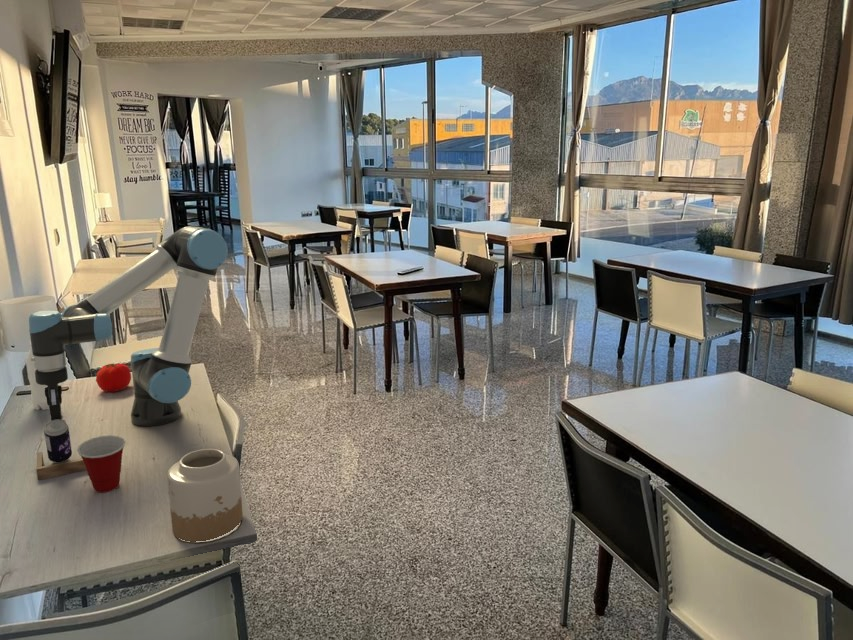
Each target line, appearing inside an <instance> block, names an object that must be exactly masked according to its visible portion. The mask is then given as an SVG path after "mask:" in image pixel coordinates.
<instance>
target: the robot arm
mask: <svg viewBox="0 0 853 640" xmlns="http://www.w3.org/2000/svg"><path fill="white" fill-rule="evenodd" d="M228 253H229V252H228V245H227V241H226V240H225V239H224V237H223V236H222V235H221V234H220V233H219V232H218V231H215V230H214V229H213V230H212V229H211V228H207V227H206V228H205V227H200V226H196V225H188V226H184V227H182V228H179V229H178V230H175V232H174V233H172V234H171V235H169V236H168V237H166V238H165V239H164V240H162V241H161V242H159V243H158V244H156V248H155V250H154V251H152V252H151V253H150V254H148V255H147V256H146V257H144V258H142V259H141V260H140V261H138V262H136V264H134V265H132V266H131V267H129V268H128V269H126V270H125V271H124V272H122V273H121V274H118V276H116V277H114V279H112V280H111V281H108V283H107V284H105V285H103V286H102V287H101V288H99V289H97V290H96V291H94V292H93V293H92V294H91V295H89V296H87V297H86V298H85V299H83V300H82V301H80V302H78V303H77V304H72V305H69V306H67V307H66V308H65V309H63V311H62V313H61V312H60V311H58V310H39V311H36V312H33V313H31V314H30V315H29V316H28V323H29V326H28V327H29V329H28V332H29V340H30V339H31V346H32V353H33V358H31V359H30V360H31V361H34V368H35V369H36V370H35V378H36V383H37V384H40V385H47V386H48V387H45V396H46V398H47V405H49V409H48V410H49V415H50V421H52V420H56V419H60V420H63V421H65V422H66V420H65V419H63V415H62V406H61V405H62V403H63V402H62V401H63V400H62V397H63V396H62V394H63V389H62V385H61V384H62V383H64V382H66V381H68V377H69V376H68V375H69V373H68V367H67V366H66V365H67V356H66V355H67V354H66V350H65V346H66V345H73V344H84V343H91V342H100V341H104V340H108V339H110V338H111V337H112V336H113V324H112V320H111V317H110V314H111V313H113V312H115V311H116V310H118V309H119V308H120V307H122V306H123V305H125V304H126V303H128V302H129V301H130V300H132V298H134V297H136V296H137V295H138V294H140V293H141V292H143V291H145V289H147V288H148V287H150V286H151V285H152V284H154V283H155V282H156V281H158V280H160V279H161V278H162V277H164V276H165V275H167V274H168V273H169V272H171V271H172V270H174V271H175V270H176V271H178V272H179V275H178V279H177V283H176V286H175V290H174V292H173V296H172V300H171V304H170V307H169V311H168V314H167V318H166V322H165V325H164V329H163V334H162V337H161V339H160V343H159V347H156V348H155V347H154V348H147V349H141V350H137V351H135V352H132V354H131V355H130V362H129V363H130V365H131V377H132V382H133V383H132V384H133V393H134V400H133V404H132V407H131V412H130V421H131V423H132V424H134V425H135V426H136V425H137V426H139V427H155V426H160V425H165V424H168V423H172V422H174V421H176V420H178V419H179V418H180V417H181V416H182V408H181V405H180V403H179V401H180V400H182V399H184V398H185V397H186V396H187V394H188V393H189V392H190V389H191V388H192V378H191V375H190V374H189V373H190V369H191V365H192V359H191V357H190V355H189V353H190V349H191V346H192V343H193V339H194V335H195V332H196V328H197V325H198V322H199V317H200V315H201V314H200V313H201V310H202V306H203V303H204V299H205V295H206V293H207V288H208V285H209V281H210V280H213V279H214V278H216V275H217V272H218V270H219V269H218V268H219V267H220V266H222V265H223V264H225V262H226V259H227V257H228ZM180 415H181V416H180ZM178 417H179V418H178ZM177 418H178V419H177ZM175 419H176V420H175Z"/></svg>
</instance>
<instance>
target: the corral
mask: <svg viewBox="0 0 853 640" xmlns="http://www.w3.org/2000/svg"><path fill="white" fill-rule="evenodd" d="M44 463H45V461H44V455H43V451H39V452H37V453H36V469H35V470H36V475H37V480H38V481H39V480H44V479H49V478H53V477H59V476H63V475H68V474H69V475H70V474H74V473H79V472H84V471H87V469H86V466H85V463H84V461H83V459H82V458H78V459H74V460H73V459H72V460H68V461H67V460H66V461H64V462H60V463H57V462H56V463H54V464H53V463H52V464H48V465H45V464H44Z"/></svg>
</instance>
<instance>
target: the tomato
mask: <svg viewBox="0 0 853 640" xmlns="http://www.w3.org/2000/svg"><path fill="white" fill-rule="evenodd" d="M131 380H132V372H131V369H130V367H129V366H127V364H125V363H122V361H120V362H119V363H118V362H117V363H108V364H105V365H103V366H102V367H101V369H99V370H98V371H97V373H96V379H95V381H96V383H97V386H98V387H99V388H100V389H101V390H102V391H104V392H105V393H106V392H107V393H111V392H120V391H121V390H124V389H125V388H128V386H129V385H130V384H131Z"/></svg>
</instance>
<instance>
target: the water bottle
mask: <svg viewBox="0 0 853 640" xmlns="http://www.w3.org/2000/svg"><path fill="white" fill-rule="evenodd" d="M28 344H29V345H30V346H29V347H30V348H29V351H28V353H27V354H26V357H25V364H26V372H27V380H28V382H29V385H30V392H31V393H30V394H31V396H30V400H31V405H32V407H33V408H34V409H35V410H36V411H39V410H42V411H43V410H44V411H46V410H50V409H49V405H47V398H46V396H45V387H48V386H47V385H40V384H37V383H36V378H35V370H36V369H35V368H34V361H31V360H30V359H31V358H33V353H32V346H31V339H30V338H29V343H28Z"/></svg>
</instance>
